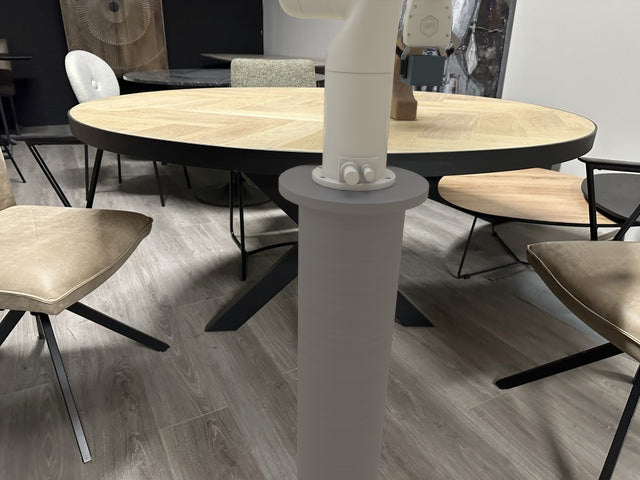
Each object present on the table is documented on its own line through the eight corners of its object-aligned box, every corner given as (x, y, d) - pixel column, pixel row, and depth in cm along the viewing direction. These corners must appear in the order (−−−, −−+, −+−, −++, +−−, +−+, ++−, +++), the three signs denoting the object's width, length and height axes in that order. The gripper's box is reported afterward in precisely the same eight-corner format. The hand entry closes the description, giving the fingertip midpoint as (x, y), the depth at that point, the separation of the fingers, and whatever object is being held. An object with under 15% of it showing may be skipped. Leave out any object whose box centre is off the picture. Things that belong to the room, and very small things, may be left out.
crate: (442, 86, 102) (445, 56, 99) (410, 85, 101) (412, 55, 99) (429, 81, 112) (432, 54, 109) (400, 81, 111) (402, 54, 109)
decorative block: (416, 120, 119) (425, 34, 111) (394, 120, 118) (402, 34, 111) (402, 114, 129) (410, 34, 122) (382, 113, 129) (389, 34, 121)
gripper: (392, -13, 95) (385, 79, 102) (476, -11, 96) (463, 81, 103) (385, -10, 102) (379, 76, 109) (464, -8, 103) (453, 78, 110)
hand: (420, 78), depth 106 cm, fingers closed on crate, 7 cm apart
